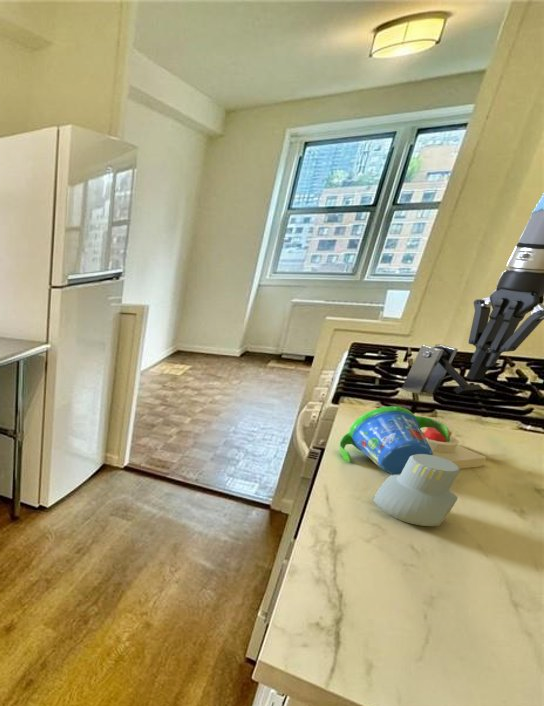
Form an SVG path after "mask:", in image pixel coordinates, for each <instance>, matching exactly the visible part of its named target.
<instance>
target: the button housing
mask: <svg viewBox="0 0 544 706" xmlns="http://www.w3.org/2000/svg"><path fill="white" fill-rule="evenodd" d="M421 431H422V432H423V434H424V433H425V431H426V429H421ZM425 438H426V437H425ZM426 440H427V442H428V443H429V445H430V447H431V450H432V452H433V456H437V457H441V458H444V459H446V460H449V461H451V462H453V463H454V464H456V465H457V466H458V468H459V469H460V470H461V469H467V468H477V467H482V466H483V464H484V463H485V461H486V460H487V457H486V456H484V455H482V454H479V453H477V452H475V451H473V450H470V449H468V448H466V447H464V446H461V445H459V443H460V441H459V440H458V439H457V438H455V437H454V436H453V435H451V436H450V441H449V442H439V441H435V440H431V439H428V438H426Z"/></svg>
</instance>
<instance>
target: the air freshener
mask: <svg viewBox="0 0 544 706" xmlns="http://www.w3.org/2000/svg"><path fill="white" fill-rule="evenodd" d="M460 472H461V468H460V469H459V468H458V466H457V465H456V464H454V463H453V462H451V461H449V460H446V459H444V458H441V457H437V456H433V455H427V454H416V455H412V456H410V457H409V459H408V461H407V463H406V465H405V467H404V469H403V470H402V472H401V474H395V475H393V474H390V475H389V476H388V477H387V478H386V479H385V480H384V482H383V483H382V484H381V485H380V487H379V488H378V489H377V491H376V493H375V495H374V497H373V502H374V504H375V505H376V506H377V507H378V508H379V509H380V510H382V511H383V512H384V513H385V514H387V515H389V517H392V518H394V519H396V520H398V521H401V522H404V523H407V524H411V525H415V526H422V527H440V525H442V523H443V522H444V521H445V519H446V518H447V516H448V515H449V513H450V512H451V510H452V509H453V508H454V507H455V505H456V502H457V501H458V498H459V497H458V495H456V493H454V492H453V491H452V490H450V489H451V488H452V486H453V484H454V482H455V480H456V479H457V477H458V475H459V474H460Z"/></svg>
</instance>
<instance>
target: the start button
mask: <svg viewBox="0 0 544 706" xmlns="http://www.w3.org/2000/svg"><path fill="white" fill-rule="evenodd" d="M425 430H426V431H425V433H424V436H425V437H426V438H428V439H431V440H435V441H439V442H447V441H446V438H445V437H444V436H442V435H441V434H440V433H439V432H438V431H437V430H436V429H435V428H431V427H426V429H425ZM449 434H450V436H452V435H453V434H452V432H451V431H450V430H449Z"/></svg>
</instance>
